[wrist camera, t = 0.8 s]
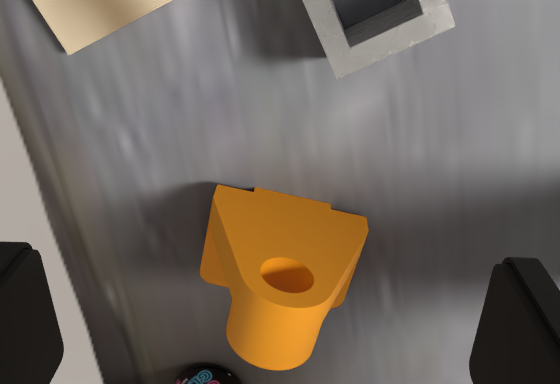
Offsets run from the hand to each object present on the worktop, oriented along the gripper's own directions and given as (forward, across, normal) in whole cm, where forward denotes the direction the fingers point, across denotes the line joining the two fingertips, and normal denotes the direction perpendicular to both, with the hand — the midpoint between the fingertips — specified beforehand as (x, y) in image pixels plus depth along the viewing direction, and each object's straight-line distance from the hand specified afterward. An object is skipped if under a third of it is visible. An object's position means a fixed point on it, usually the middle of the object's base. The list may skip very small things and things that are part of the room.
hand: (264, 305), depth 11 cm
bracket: (+24, 0, +14) cm, 28 cm away
